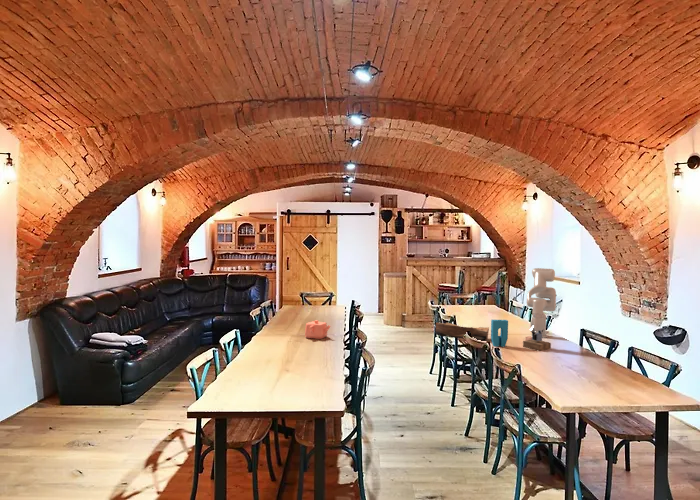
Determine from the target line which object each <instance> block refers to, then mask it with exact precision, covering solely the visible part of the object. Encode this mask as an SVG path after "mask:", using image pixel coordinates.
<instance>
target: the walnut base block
mask: <svg viewBox="0 0 700 500" xmlns="http://www.w3.org/2000/svg"><path fill="white" fill-rule="evenodd" d="M551 346H552V343H551V342H549V341H546V340H542V341H535V340H527V341H525V340H523V342H522V347H523V348H525V349H528V350H534V351H537V352H541V351H546V350H552V349H551V348H552V347H551Z"/></svg>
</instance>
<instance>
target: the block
mask: <svg viewBox="0 0 700 500" xmlns="http://www.w3.org/2000/svg"><path fill="white" fill-rule="evenodd" d="M490 322H491V323H490V339H491V344H492V346H493V347H495V348H496V347H498V348H499V347H501V348H505V347H506V346H507V342H508V339H509V338H508V337H509V336H508V335H509V320H508V319H491V320H490ZM499 329H500V334H499Z"/></svg>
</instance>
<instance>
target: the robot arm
mask: <svg viewBox="0 0 700 500" xmlns="http://www.w3.org/2000/svg"><path fill="white" fill-rule="evenodd" d="M531 274H532V277H533V279H534V280H533V287H532V288H530V290H528V292H527V295H526V306H527V307H529V308H532V312H531V314H532V317H531V319H530V326H529V327H530V329H529V331H530V332H531V335H532V334H533V340H536V338H537V335H536V333H540V334H542V339H545V338H548V337H549V336H548V335H547V334H550V332H549V330H548V331H546V330H547V329H546V328H547V315H546V313H545V312H555V311H556V307H557V302H556V301H557V291H556V289H555V288H554V287H551V286H550V287H548V286H547V282H549V283H550V282H554V280H555V276H556V272H555V270H554V269H553V268H545V267H544V268H542V267H541V268H540V267H537V268H532V270H531ZM534 295H535V297H532V296H534Z"/></svg>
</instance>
